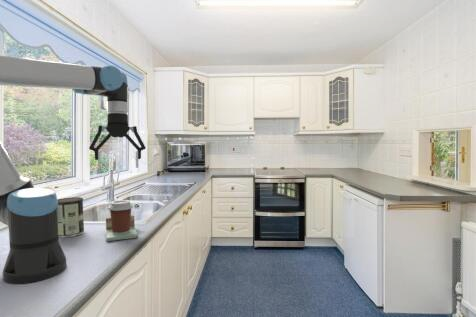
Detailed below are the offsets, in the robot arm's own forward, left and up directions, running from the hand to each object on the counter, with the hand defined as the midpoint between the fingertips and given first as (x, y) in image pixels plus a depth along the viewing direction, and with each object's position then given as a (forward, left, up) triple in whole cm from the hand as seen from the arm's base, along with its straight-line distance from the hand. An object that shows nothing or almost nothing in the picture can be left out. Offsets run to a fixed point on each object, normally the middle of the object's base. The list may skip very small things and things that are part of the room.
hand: (118, 168), depth 118 cm
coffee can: (+12, +19, -27) cm, 35 cm away
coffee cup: (0, 0, -26) cm, 26 cm away
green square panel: (+6, 0, -25) cm, 26 cm away
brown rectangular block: (+7, 0, -27) cm, 28 cm away
